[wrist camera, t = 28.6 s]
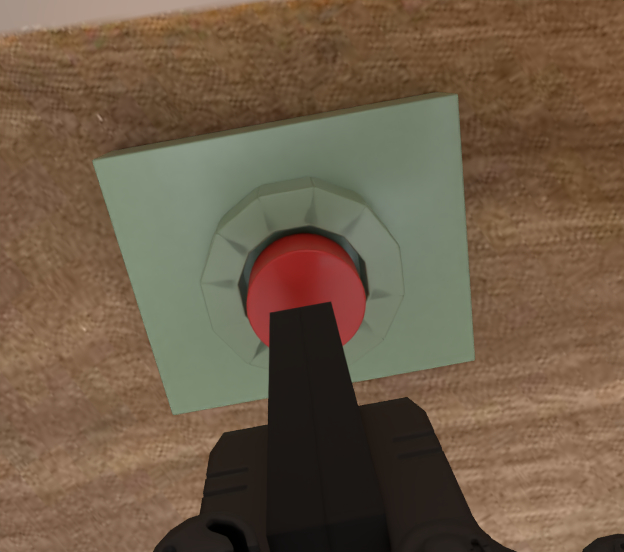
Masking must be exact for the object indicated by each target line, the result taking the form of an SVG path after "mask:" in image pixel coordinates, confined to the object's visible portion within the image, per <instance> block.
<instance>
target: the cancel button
mask: <svg viewBox="0 0 624 552" xmlns="http://www.w3.org/2000/svg"><path fill="white" fill-rule="evenodd" d="M330 301H331V303H332V306H333V310H334V314H335V318H336V322H337V326H338V330H339V334H340V338H341V342H342V346H344V345H345V344H346V343H347V342H348V341H349V340H350V339H351V338H352V337H353V336H354V335H355V333H356V332H357V330H358V329H359V327H360V325H361V323H362V321H363V318H364V314H365V309H366V295H365V290H364V287H363V284H362V281H361V279H360V276H359V274H358V272H357V269H356V267H355V265H354V262H353V261H352V259H351V257H350V256H349V254H348V253H347V252H346V251H345V250H344V249H343V248H342V247H341V246H340V245H339V244H337V243H336V242H334V241H333V240H331V239H329V238H327V237H324V236H321V235H317V234H311V233H298V234H292V235H288V236H285V237H282V238H280V239H278V240H276V241H274V242H273V243H271V244H270V245H269V246H267V247H266V248H265V249H264V250H263V251H262V252H261V254H260V255H259V256H258V257H257V259H256V261H255V262H254V265H253V267H252V269H251V273H250V278H249V286H248V294H247V302H246V307H247V315H248V319H249V322H250V325H251V327H252V329H253V331H254V332H255V334H256V335H257V336H258V338H259V339H260V340H261V341H262V342H263V343H264V344H265V345H267V346H268V347H269V322H270V312H276V311H281V310H287V309H292V308H297V307H303V306H308V305H314V304H319V303H325V302H330Z"/></svg>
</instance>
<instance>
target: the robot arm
mask: <svg viewBox="0 0 624 552" xmlns="http://www.w3.org/2000/svg"><path fill="white" fill-rule="evenodd" d="M206 476H207V479H205V485H204V491H203V495H204V498H202V503H201V509H200V515H198V516H195V517H192V518H189V519H187V520H186V521H184V522H183V523H181V524H179V525H178V526H176V527H175V528H173V529H172V530H170V531H169V532H168V534H167V535H166V536H165V537H164V538H163V539H162V540H161V541H160V542H159V543H158V545H157V546H156V547H155V549H154V551H153V552H516V551H514V550H511V549H509V548H506V547H504V546H503V545H501V544H499V543H498V542H496V541H495V540H493V539H492V538H491V537H490V536H489V535H488V534H486V533H485V532H484V531H483V530H482V529H481V528H480V527H479V525H478V524H477V522H476V520H475V519H474V517H473V516H472V513H471V511H470V509H469V507H468V505H467V502H466V500H465V498H464V496H463V493H462V491H461V489H460V487H459V485H458V482H457V480H456V478H455V476H454V474H453V471H452V469H451V467H450V465H449V462H448V460H447V458H446V456H445V454H444V451H442V447H441V445H440V443H439V440H438V438H437V436H436V435H435V433H434V429H433V427H432V425H431V423H430V420H429V418H428V416H427V414H426V412H425V411H424V410H423V409H422V408H420V407H419V406H418V405H417V404H415V403H414V402H413V401H412V400H410V399H409V398H408V397H405V398H400V399H394V400H389V401H383V402H378V403H372V404H367V405H362V406H358V404H357V400H356V396H355V393H354V389H353V385H352V381H351V377H350V373H349V369H348V365H347V361H346V357H345V353H344V349H343V346H342V342H341V338H340V334H339V330H338V326H337V322H336V318H335V314H334V310H333V306H332V303H331V301H330V302H325V303H319V304H314V305H308V306H303V307H297V308H292V309H287V310H281V311H276V312H270V322H269V384H268V425H263V426H258V427H252V428H247V429H241V430H236V431H230V432H225V433H223V435H222V436H221V438H220V439H219V440H218V442H217V443H216V445H215V446H214V448H213V449H212V451H211V452H210V456H209V461H208V467H207V473H206ZM582 552H624V534H614V535H610V536H605V537H601V538H597V539H596V540H594V541H593V542H592V543H591V544H589V545H588V546H587V547H585V548H584V549H583V551H582Z"/></svg>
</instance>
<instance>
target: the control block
mask: <svg viewBox="0 0 624 552" xmlns="http://www.w3.org/2000/svg"><path fill="white" fill-rule="evenodd" d="M92 162H93V165H94V168H95V172H96V175H97V178H98V181H99V184H100V187H101V190H102V194H103V197H104V200H105V203H106V206H107V209H108V213H109V216H110V219H111V222H112V225H113V228H114V231H115V235H116V238H117V241H118V244H119V247H120V250H121V253H122V257H123V260H124V263H125V266H126V269H127V272H128V275H129V279H130V282H131V285H132V288H133V291H134V294H135V297H136V301H137V304H138V307H139V310H140V313H141V316H142V319H143V323H144V326H145V329H146V332H147V335H148V338H149V341H150V345H151V348H152V351H153V354H154V357H155V360H156V364H157V367H158V370H159V373H160V376H161V379H162V382H163V386H164V389H165V392H166V395H167V398H168V401H169V404H170V408H171V411H172V414H173V415H177V414H183V413H188V412H194V411H199V410H205V409H210V408H216V407H221V406H227V405H232V404H238V403H243V402H249V401H254V400H260V399H265V398H268V384H269V347H268V346H267V345H265V344H264V343H263V342H262V341H261V340H260V339H259V338H258V336H257V335H256V334H255V332H254V331H253V329H252V327H251V325H250V322H249V319H248V315H247V307H246V302H247V294H248V286H249V278H250V273H251V269H252V267H253V265H254V262H255V261H256V259H257V257H258V256H259V255H260V254H261V252H262V251H263V250H264V249H265V248H266V247H267V246H269V245H270V244H271V243H273V242H274V241H276V240H278V239H280V238H282V237H285V236H288V235H292V234H298V233H311V234H317V235H321V236H324V237H327V238H329V239H331V240H333V241H334V242H336V243H337V244H339V245H340V246H341V247H342V248H343V249H344V250H345V251H346V252H347V253H348V254H349V256H350V257H351V259H352V261H353V262H354V265H355V267H356V269H357V272H358V274H359V276H360V279H361V281H362V284H363V287H364V290H365V295H366V309H365V314H364V318H363V321H362V323H361V325H360V327H359V329H358V330H357V332H356V333H355V335H354V336H353V337H352V338H351V339H350V340H349V341H348V342H347V343H346V344H345V345H344V346H343V349H344V353H345V357H346V361H347V365H348V369H349V373H350V377H351V381H352V383H353V382H359V381H364V380H370V379H375V378H381V377H386V376H392V375H397V374H403V373H408V372H414V371H419V370H425V369H430V368H436V367H441V366H447V365H452V364H458V363H463V362H469V361H474V360H475V352H474V337H473V321H472V306H471V290H470V275H469V259H468V244H467V228H466V213H465V198H464V182H463V167H462V151H461V136H460V120H459V105H458V95H457V94H454V93H444V92H434V93H428V94H423V95H417V96H412V97H406V98H401V99H395V100H390V101H384V102H379V103H373V104H368V105H362V106H357V107H351V108H346V109H340V110H335V111H329V112H324V113H318V114H313V115H307V116H302V117H296V118H291V119H285V120H280V121H274V122H269V123H263V124H258V125H252V126H247V127H241V128H236V129H230V130H225V131H219V132H214V133H208V134H203V135H197V136H192V137H186V138H181V139H175V140H170V141H164V142H159V143H153V144H148V145H142V146H137V147H131V148H126V149H120V150H115V151H111V152H109V153H107V154H105V155H102V156H100V157H98V158H96V159H94V160H93V161H92Z"/></svg>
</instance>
